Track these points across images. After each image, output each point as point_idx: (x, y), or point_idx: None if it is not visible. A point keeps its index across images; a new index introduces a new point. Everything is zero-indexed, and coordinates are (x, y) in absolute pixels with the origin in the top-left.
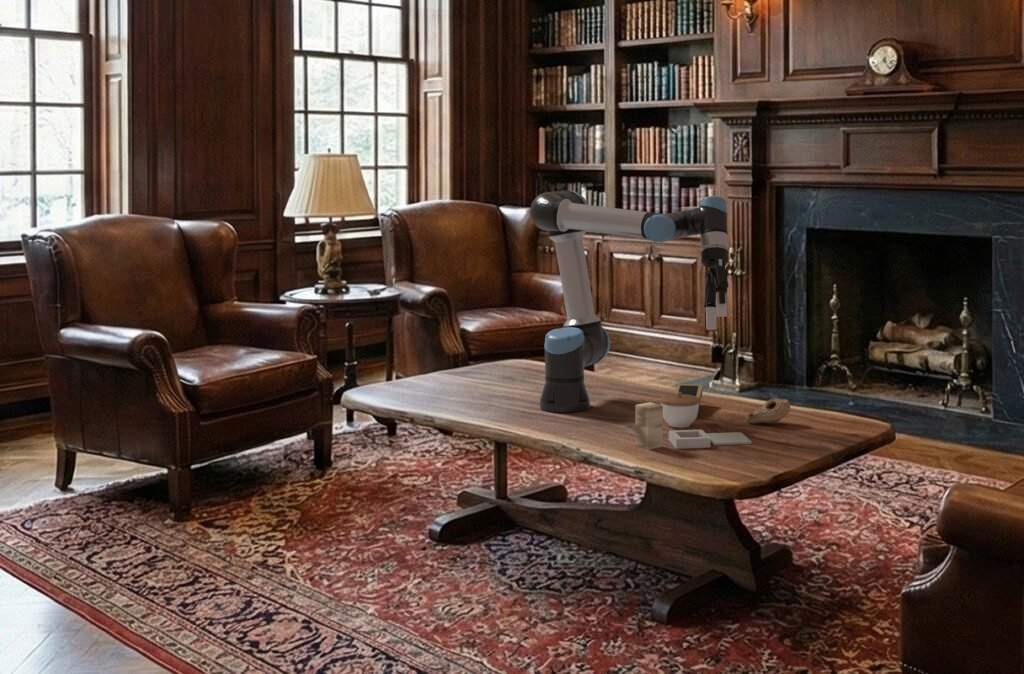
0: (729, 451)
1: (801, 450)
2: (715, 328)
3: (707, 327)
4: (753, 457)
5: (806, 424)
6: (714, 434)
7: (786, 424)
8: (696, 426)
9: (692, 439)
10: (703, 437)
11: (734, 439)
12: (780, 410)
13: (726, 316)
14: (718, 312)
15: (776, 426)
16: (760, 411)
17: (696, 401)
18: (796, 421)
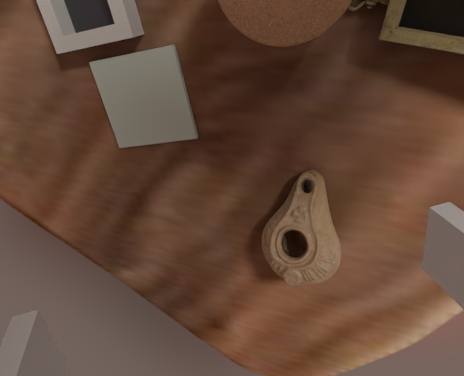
0: (54, 91)
1: (98, 223)
2: (425, 264)
3: (436, 216)
4: (27, 132)
5: None
6: (166, 71)
7: None
8: None
9: (38, 3)
10: (57, 35)
11: (129, 114)
12: (267, 253)
13: (64, 366)
14: (7, 349)
15: None
16: (293, 212)
17: (243, 34)
18: None
